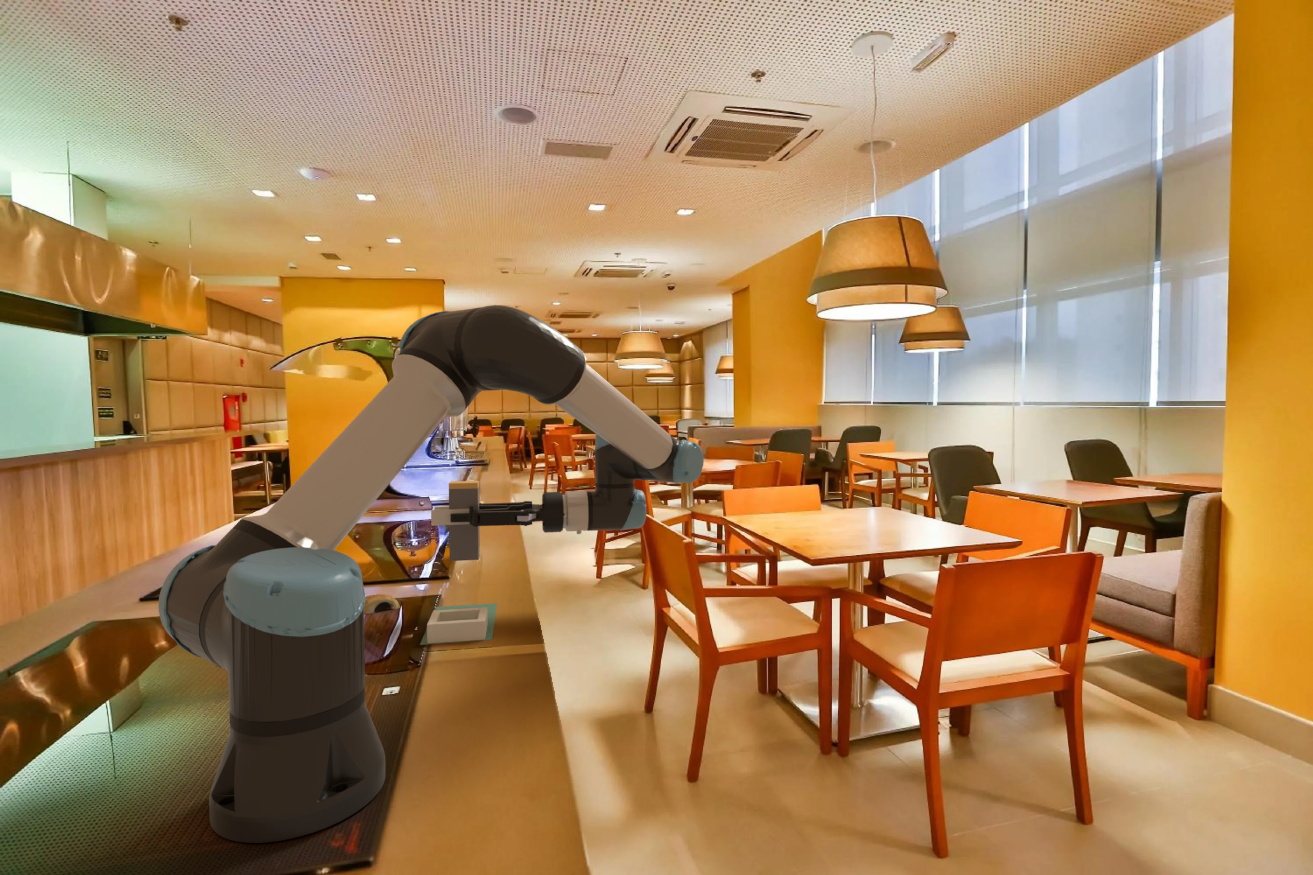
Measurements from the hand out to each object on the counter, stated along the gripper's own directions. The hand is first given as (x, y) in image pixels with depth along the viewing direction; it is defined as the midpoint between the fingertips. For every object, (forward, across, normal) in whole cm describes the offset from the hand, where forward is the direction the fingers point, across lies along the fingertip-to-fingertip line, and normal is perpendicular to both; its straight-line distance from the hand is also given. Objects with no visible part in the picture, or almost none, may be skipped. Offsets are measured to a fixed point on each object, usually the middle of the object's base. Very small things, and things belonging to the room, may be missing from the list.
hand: (433, 515), depth 117 cm
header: (-5, -13, -18) cm, 23 cm away
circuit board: (-5, -7, -19) cm, 21 cm away
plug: (-5, 0, -8) cm, 10 cm away
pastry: (+11, +6, -19) cm, 23 cm away
